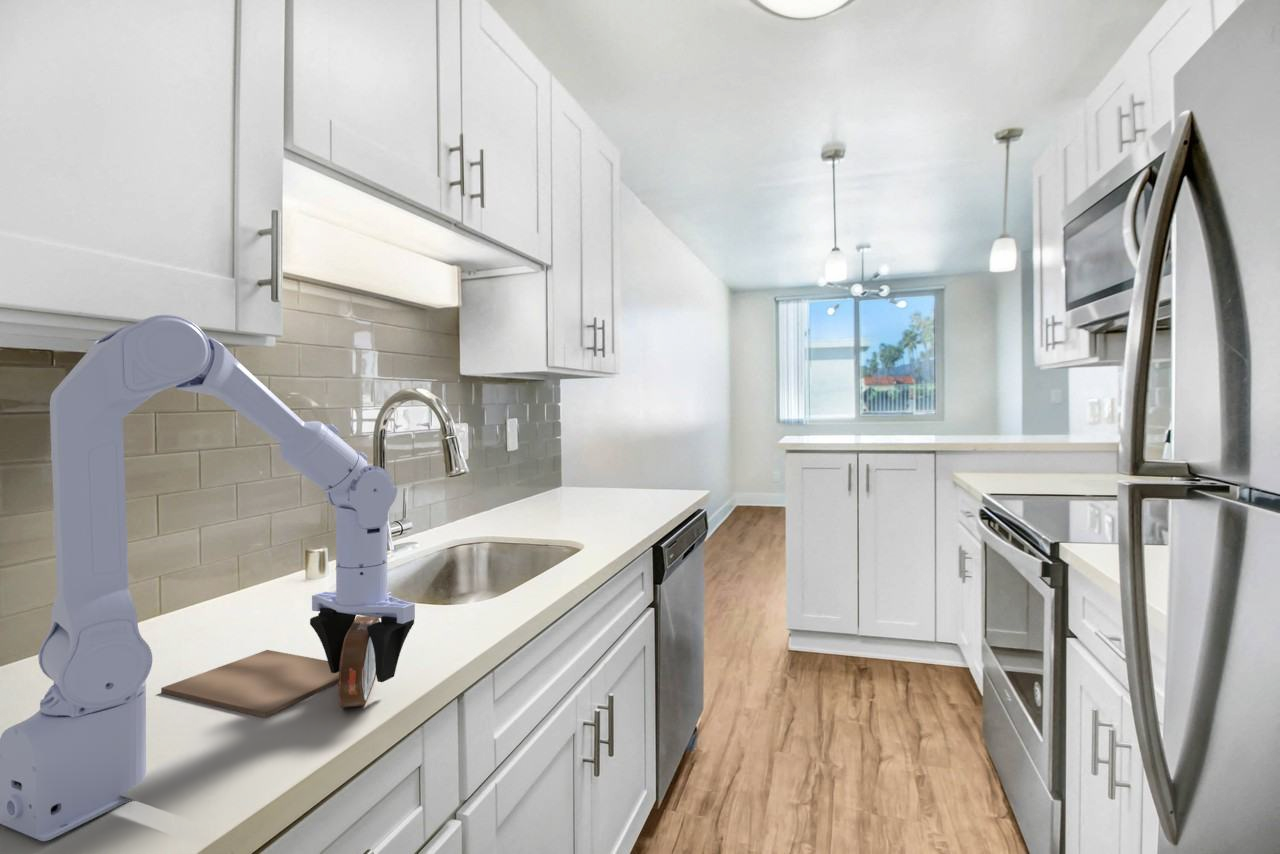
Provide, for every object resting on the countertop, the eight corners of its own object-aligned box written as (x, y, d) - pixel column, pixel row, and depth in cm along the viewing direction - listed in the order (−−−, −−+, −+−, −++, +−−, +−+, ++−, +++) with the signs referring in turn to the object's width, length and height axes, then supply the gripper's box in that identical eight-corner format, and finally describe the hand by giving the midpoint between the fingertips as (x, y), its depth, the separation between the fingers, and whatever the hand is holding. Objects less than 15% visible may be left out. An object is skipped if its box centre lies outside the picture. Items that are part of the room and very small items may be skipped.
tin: (358, 671, 83) (356, 607, 83) (383, 667, 84) (381, 605, 84) (336, 722, 68) (333, 646, 68) (367, 718, 69) (364, 642, 69)
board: (265, 717, 70) (265, 712, 70) (161, 692, 76) (161, 687, 76) (363, 671, 83) (363, 667, 83) (267, 653, 89) (267, 649, 89)
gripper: (432, 561, 77) (432, 670, 77) (343, 552, 83) (344, 655, 83) (389, 573, 71) (390, 693, 71) (296, 563, 76) (297, 675, 76)
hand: (362, 674), depth 76 cm, fingers open, 7 cm apart
